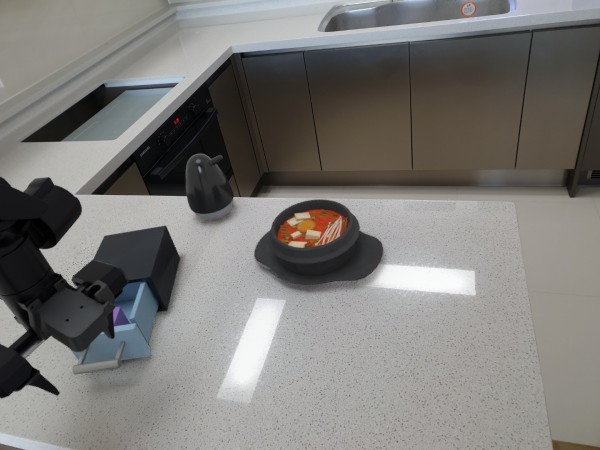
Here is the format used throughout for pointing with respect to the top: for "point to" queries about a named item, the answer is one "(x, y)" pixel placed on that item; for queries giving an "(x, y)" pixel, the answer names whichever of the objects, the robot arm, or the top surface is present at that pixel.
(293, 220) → the casserole
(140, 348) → the blue drawer
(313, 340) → the top surface
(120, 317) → the block
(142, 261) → the black drawer cabinet
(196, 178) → the pump dispenser
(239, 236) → the top surface
